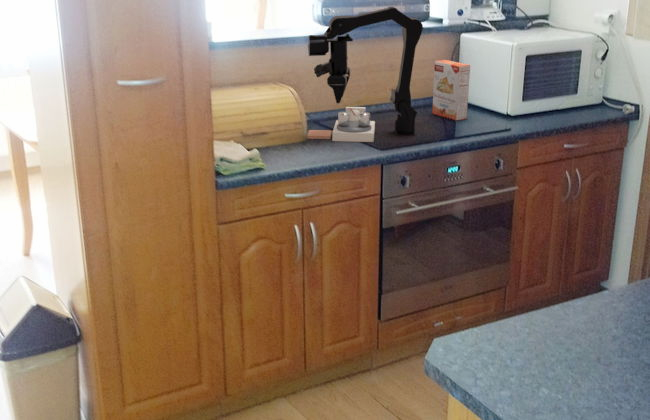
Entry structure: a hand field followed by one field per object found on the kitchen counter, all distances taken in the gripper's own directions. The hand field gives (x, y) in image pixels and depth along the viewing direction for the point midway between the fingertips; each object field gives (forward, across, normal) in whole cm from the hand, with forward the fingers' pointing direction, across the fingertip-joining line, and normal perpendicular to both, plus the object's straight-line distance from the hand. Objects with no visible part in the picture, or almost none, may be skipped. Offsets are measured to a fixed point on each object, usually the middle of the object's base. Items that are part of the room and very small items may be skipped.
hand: (339, 100), depth 257 cm
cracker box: (+14, -32, +39) cm, 52 cm away
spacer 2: (+9, +2, +9) cm, 12 cm away
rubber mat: (+12, +2, -7) cm, 14 cm away
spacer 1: (+8, +2, +2) cm, 9 cm away
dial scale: (+12, 0, +5) cm, 13 cm away
